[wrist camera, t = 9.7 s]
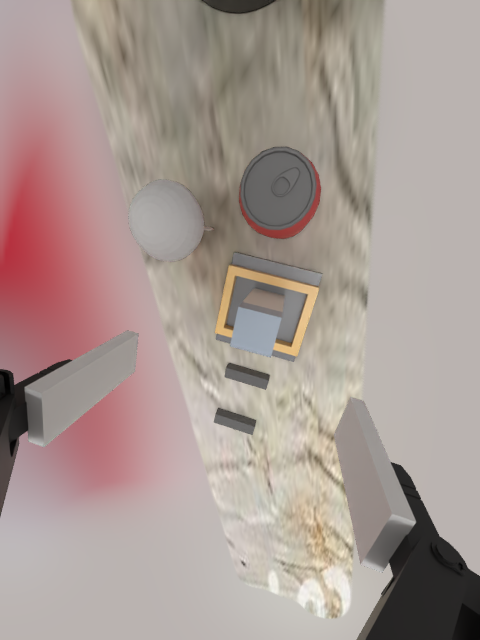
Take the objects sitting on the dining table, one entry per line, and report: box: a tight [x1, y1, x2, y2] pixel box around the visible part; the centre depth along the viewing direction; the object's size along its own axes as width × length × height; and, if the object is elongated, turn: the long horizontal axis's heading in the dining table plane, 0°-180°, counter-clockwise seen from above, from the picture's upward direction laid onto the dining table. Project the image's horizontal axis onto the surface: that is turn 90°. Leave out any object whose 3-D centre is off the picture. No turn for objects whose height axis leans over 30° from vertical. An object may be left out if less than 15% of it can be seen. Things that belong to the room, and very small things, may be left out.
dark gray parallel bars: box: [214, 363, 270, 435], centre depth 38 cm, size 10×6×2 cm, turn 167°
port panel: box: [215, 252, 322, 362], centre depth 33 cm, size 12×11×2 cm
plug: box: [230, 288, 285, 357], centre depth 29 cm, size 4×4×10 cm
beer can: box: [239, 147, 321, 239], centre depth 25 cm, size 7×7×12 cm
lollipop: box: [128, 180, 213, 262], centre depth 25 cm, size 6×6×15 cm
